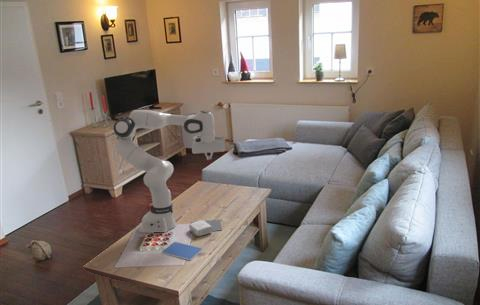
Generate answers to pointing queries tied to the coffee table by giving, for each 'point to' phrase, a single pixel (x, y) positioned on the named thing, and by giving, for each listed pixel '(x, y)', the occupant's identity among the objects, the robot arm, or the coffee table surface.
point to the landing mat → (214, 225)
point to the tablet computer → (182, 251)
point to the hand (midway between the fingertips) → (209, 159)
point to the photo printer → (200, 228)
